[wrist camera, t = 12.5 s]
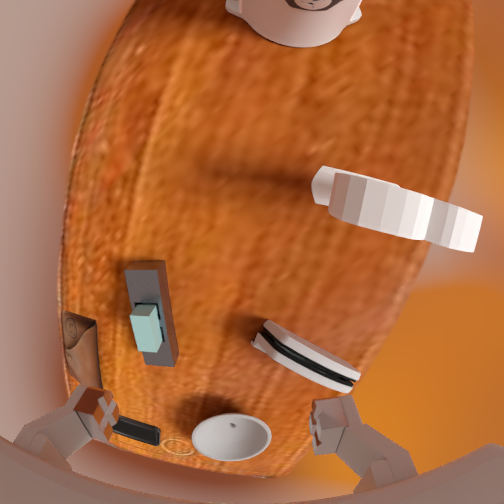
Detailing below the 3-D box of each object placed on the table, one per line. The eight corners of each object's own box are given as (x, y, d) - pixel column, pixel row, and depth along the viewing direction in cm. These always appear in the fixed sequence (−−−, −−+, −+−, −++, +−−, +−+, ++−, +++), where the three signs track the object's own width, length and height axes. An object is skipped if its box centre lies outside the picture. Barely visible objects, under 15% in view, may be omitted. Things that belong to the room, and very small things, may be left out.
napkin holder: (248, 341, 43) (262, 366, 33) (264, 315, 43) (283, 334, 33) (327, 380, 46) (355, 406, 36) (342, 358, 46) (372, 380, 36)
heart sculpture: (410, 188, 35) (498, 213, 18) (402, 222, 37) (484, 265, 20) (307, 162, 35) (356, 164, 18) (300, 200, 36) (342, 235, 19)
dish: (247, 449, 52) (247, 466, 48) (185, 432, 51) (181, 450, 46) (285, 405, 48) (287, 425, 43) (212, 384, 46) (208, 404, 41)
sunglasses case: (59, 306, 42) (57, 328, 36) (95, 306, 45) (97, 328, 40) (70, 376, 47) (72, 399, 42) (100, 376, 51) (105, 398, 46)
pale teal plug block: (144, 295, 40) (129, 315, 34) (161, 295, 40) (149, 316, 34) (150, 328, 42) (138, 350, 36) (167, 329, 42) (157, 352, 36)
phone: (159, 446, 52) (100, 427, 51) (160, 443, 53) (102, 424, 52) (159, 430, 50) (96, 408, 49) (160, 426, 51) (98, 405, 50)
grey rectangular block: (134, 260, 39) (124, 269, 35) (164, 260, 39) (156, 270, 35) (152, 351, 44) (145, 364, 40) (179, 353, 44) (174, 366, 40)
